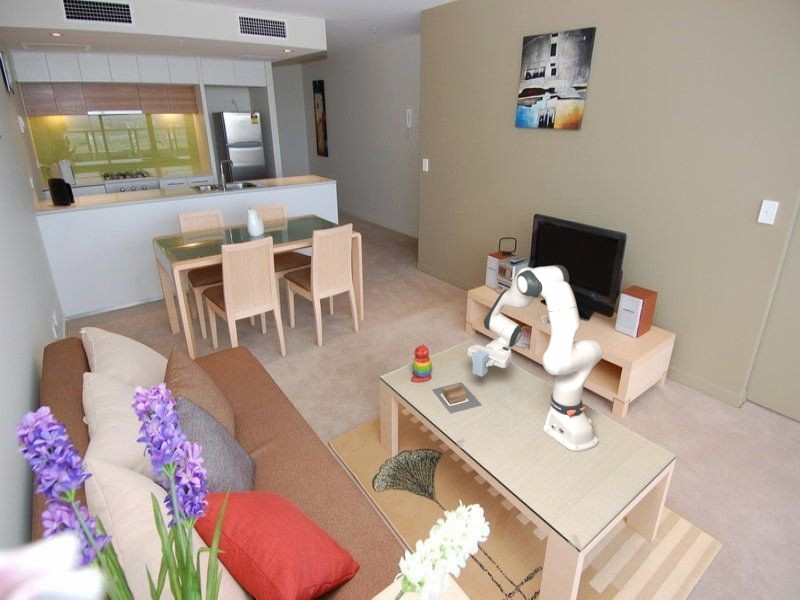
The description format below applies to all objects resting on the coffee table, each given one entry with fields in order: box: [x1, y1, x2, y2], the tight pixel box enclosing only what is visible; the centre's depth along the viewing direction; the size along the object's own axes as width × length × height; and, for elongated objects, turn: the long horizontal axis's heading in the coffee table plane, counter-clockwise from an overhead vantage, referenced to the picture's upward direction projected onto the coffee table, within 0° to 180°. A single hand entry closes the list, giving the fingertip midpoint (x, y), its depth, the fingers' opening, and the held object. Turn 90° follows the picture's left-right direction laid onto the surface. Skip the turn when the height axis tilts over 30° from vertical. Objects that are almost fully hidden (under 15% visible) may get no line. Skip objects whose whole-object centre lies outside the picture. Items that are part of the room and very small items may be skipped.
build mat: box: [431, 381, 483, 415], centre depth 215 cm, size 20×16×1 cm
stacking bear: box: [410, 343, 433, 384], centre depth 228 cm, size 11×10×18 cm
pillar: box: [472, 350, 489, 377], centre depth 211 cm, size 5×5×10 cm
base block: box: [443, 383, 466, 404], centre depth 213 cm, size 8×8×4 cm
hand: (479, 363), depth 210 cm, fingers closed on pillar, 5 cm apart
